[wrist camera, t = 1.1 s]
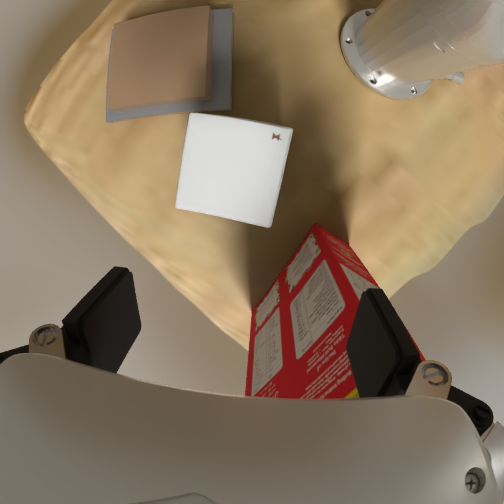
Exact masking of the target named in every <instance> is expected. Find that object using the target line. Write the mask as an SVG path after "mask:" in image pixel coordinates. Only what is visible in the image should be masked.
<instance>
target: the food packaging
mask: <svg viewBox="0 0 504 504" xmlns="http://www.w3.org/2000/svg"><path fill="white" fill-rule="evenodd" d="M368 288H380V287H379V286H378V284H377V283H376V282H375V280H374V279H373V277H372V276H371V274H370V273H369V272H368V270H367V269H366V267H365V266H364V265H363V263H362V262H361V260H360V259H359V258H358V256H357V255H356V254H355V252H354V251H353V250H352V248H351V247H350V246H349V245H348V244H347V243H345V242H344V241H342V240H341V239H339V238H338V237H336V236H335V235H333V234H332V233H330V232H329V231H327V230H325V229H324V228H322V227H321V226H319V225H318V224H316V223H315V224H314V226H313V227H312V229H311V230H310V231H309V233H308V234H307V236H306V237H305V239H304V240H303V242H302V243H301V245H300V246H299V247H298V249H297V250H296V252H295V253H294V255H293V256H292V257H291V259H290V260H289V262H288V263H287V265H286V266H285V267H284V269H283V270H282V272H281V273H280V274H279V276H278V277H277V279H276V280H275V281H274V283H273V284H272V286H271V287H270V288H269V290H268V291H267V293H266V294H265V295H264V297H263V298H262V300H261V301H260V302H259V304H258V305H257V306H256V308H255V309H254V310H253V312H252V317H251V329H250V341H249V354H248V366H247V378H246V390H245V396H254V397H268V398H288V399H345V398H359V395H358V391H357V387H356V383H355V379H354V376H353V372H352V368H351V365H350V361H349V358H348V354H347V351H346V343H347V340H348V337H349V334H350V331H351V328H352V325H353V322H354V318H355V315H356V312H357V308H358V305H359V302H360V298H361V295H362V292H363V291H366V290H367V289H368ZM402 323H403V322H402ZM405 328H406V327H405ZM406 330H407V329H406ZM407 331H408V330H407ZM408 333H409V332H408ZM409 335H410V333H409ZM410 337H411V335H410ZM411 338H412V337H411ZM412 340H413V339H412ZM413 342H414V340H413ZM414 344H415V346H416V347H417V349H418V351H419V353H420V358H421V360H422V362H423V361H426V360H425V358H424V357H423V355H422V353H421V352H420V350H419V348H418V346H417V345H416V343H415V342H414Z"/></svg>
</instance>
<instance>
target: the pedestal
mask: <svg viewBox="0 0 504 504" xmlns="http://www.w3.org/2000/svg"><path fill="white" fill-rule="evenodd" d="M233 22H234V12H233V8H226V9H213V10H211V8H210V5H205V6H197V7H189V8H182V9H176V10H170V11H165V12H160V13H155V14H151V15H146V16H142V17H138V18H134V19H131V20H127V21H123V22H120V23H117V24H114V29H113V30H112V37H111V45H110V54H109V64H108V77H107V96H106V122H118V121H123V120H130V119H136V118H143V117H151V116H159V115H168V114H178V113H191V112H207V111H231V105H232V55H233Z"/></svg>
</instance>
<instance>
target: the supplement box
mask: <svg viewBox="0 0 504 504" xmlns="http://www.w3.org/2000/svg"><path fill="white" fill-rule="evenodd" d="M292 133H293V129H292V128H290V127H285V126H281V125H276V124H271V123H266V122H261V121H256V120H250V119H244V118H237V117H230V116H223V115H213V114H203V113H192V112H191V113H190V115H189V120H188V125H187V130H186V135H185V141H184V147H183V153H182V159H181V165H180V172H179V179H178V187H177V195H176V204H175V208H178V209H184V210H189V211H194V212H200V213H205V214H209V215H214V216H218V217H223V218H227V219H232V220H236V221H240V222H245V223H249V224H253V225H258V226H262V227H266V228H269V227H271V225H272V221H273V217H274V212H275V208H276V203H277V199H278V195H279V190H280V186H281V182H282V178H283V174H284V168H285V164H286V159H287V155H288V150H289V146H290V141H291V137H292Z"/></svg>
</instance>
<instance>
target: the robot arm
mask: <svg viewBox="0 0 504 504" xmlns="http://www.w3.org/2000/svg"><path fill="white" fill-rule="evenodd" d="M346 41H347V42H348V43H349V44H348V43H347V42H346ZM341 49H342V53H343V56H344V58H345V61H346V63H347V64H348V66H349V68H350V69H351V71H352V72H353V73H354V74H355V76H356V77H357V78H358V79H359V80H360V81H361V82H362V83H363V84H364V85H365V86H367V87H368V88H370V89H371V90H373V91H374V92H376V93H378V94H380V95H382V96H385V97H388V98H391V99H398V100H404V99H411V98H415V97H417V96H420V95H422V94H423V93H424V92H425V91H427V89H428V88H429V87H430V85H431V83H432V81H433V79H435V78H439V79H443V78H446V79H448V80H450V81H452V82H455V83H457V84H459V85H460V84H462V83H463V82H464V74H463V72H462V71H467V70H471V69H476V68H481V67H486V66H491V65H496V64H501V63H504V0H383V1H382V2H381V3H380V5H379V6H378V7H377V8H370V9H364V10H361V11H358V12H356V13H354V14H353V15H352V16H351V17H350V18H349V19H348V20H347V21H346V23H345V25H344V26H343V28H342V32H341ZM370 81H372V84H371V82H370ZM62 323H63V327H62V328H60V327H59V326H57V325H55V324H46V325H42V326H40V327H38V328H36V329H35V330H34V331H33V332H32V333H31V335H30V338H29V345H26V346H22V347H19V348H16V349H12V350H9V351H5V352H2V353H0V504H502V502H503V500H504V427H503V426H502V425H501V424H500V423H499V422H496V423H495V424H494V423H493V412H492V410H491V408H490V407H489V406H488V405H487V404H486V403H484V402H483V401H481V400H479V399H477V398H475V397H473V396H471V395H469V394H467V393H465V392H463V391H461V390H459V389H457V388H455V387H453V386H451V382H452V376H451V373H450V371H449V370H448V368H447V367H446V366H445V365H443V364H441V363H440V362H437V361H434V360H426V361H423V362H422V360H421V358H420V353H419V351H418V349H417V347H416V346H415V344H414V342H413V340H412V338H411V337H410V335H409V333H408V331H407V330H406V328H405V326H404V324H403V323H402V321H401V319H400V318H399V316H398V314H397V313H396V311H395V309H394V308H393V306H392V304H391V303H390V301H389V299H388V298H387V296H386V295H385V293H384V291H383V290H382V289H380V288H368V289H367V290H366V291H363V292H362V295H361V298H360V302H359V305H358V308H357V312H356V315H355V318H354V322H353V325H352V328H351V331H350V334H349V337H348V340H347V343H346V351H347V354H348V358H349V361H350V365H351V368H352V372H353V376H354V379H355V383H356V387H357V391H358V395H359V398H345V399H288V398H268V397H254V396H242V395H231V394H222V393H215V392H207V391H200V390H194V389H188V388H182V387H176V386H170V385H165V384H159V383H155V382H150V381H146V380H141V379H136V378H132V377H128V376H124V375H120V374H117V371H118V369H119V367H120V365H121V364H122V362H123V360H124V359H125V357H126V355H127V353H128V351H129V350H130V348H131V346H132V344H133V343H134V341H135V339H136V338H137V336H138V334H139V332H140V330H141V320H140V315H139V310H138V305H137V299H136V293H135V287H134V281H133V275H132V272H129V270H128V268H124V267H113V268H112V269H111V270H110V271H109V272H108V273H107V274H106V275H105V276H104V277H103V278H102V279H101V280H100V281H99V282H98V283H97V284H96V285H95V286H94V287H93V288H92V289H91V290H90V291H89V292H88V293H87V294H86V295H85V296H84V297H83V299H81V301H80V302H79V303H78V304H77V305H76V306H75V307H74V308H73V309H72V310H71V311H70V312H69V314H67V315H66V317H65V318H64V319H63V320H62Z"/></svg>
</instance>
